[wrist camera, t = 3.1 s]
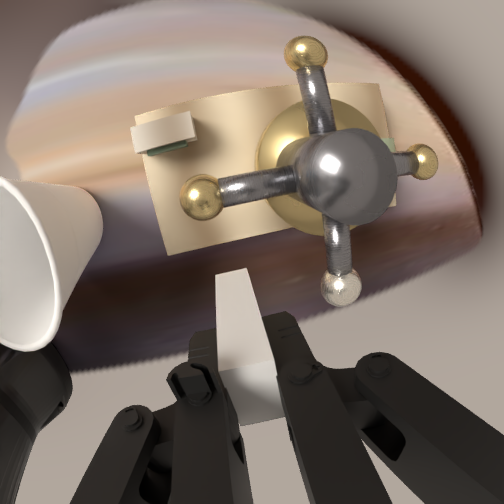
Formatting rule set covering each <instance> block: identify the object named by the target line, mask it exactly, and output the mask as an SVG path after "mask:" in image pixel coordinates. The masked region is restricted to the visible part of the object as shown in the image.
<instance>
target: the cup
mask: <svg viewBox="0 0 504 504" xmlns="http://www.w3.org/2000/svg"><path fill="white" fill-rule="evenodd" d="M102 234H103V218H102V214H101V210H100V208H99V206H98V204H97V202H96V201H95V199H94V198H93V197H92V196H91V195H90V194H89V193H88V192H87V191H85V190H84V189H82V188H79V187H75V186H67V185H58V184H49V183H40V182H31V181H21V180H10V179H7V178H5V177H2V176H0V343H1V344H3V345H5V346H7V347H9V348H12V349H14V350H19V351H24V352H26V351H36V350H38V349H41V348H43V347H45V346H46V345H47V344H48V343H49V342H50V341H52V339H53V338H54V336H55V334H56V333H57V331H58V329H59V325H60V321H61V318H62V311H63V309H64V307H65V305H66V303H67V301H68V299H69V297H70V295H71V293H72V291H73V289H74V287H75V285H76V283H77V282H78V279H79V278H80V276H81V274H82V272H83V271H84V269H85V267H86V265H87V264H88V262H89V260H90V259H91V257H92V255H93V254H94V252H95V250H96V249H97V247H98V245H99V243H100V241H101V238H102Z"/></svg>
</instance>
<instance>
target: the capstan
mask: <svg viewBox="0 0 504 504" xmlns="http://www.w3.org/2000/svg"><path fill="white" fill-rule="evenodd" d="M284 59H285V61H286V63H287V65H288V66H289V67H290V68H291V69H292V70H294V71H295V72H296V74H297V79H298V83H299V87H300V92H301V96H302V101H300V102H298V103H295V104H293V105H291V106H290V107H288V108H287V109H285V110H284V111H282V112H281V113H279V114H278V115H277V116H276V117H275V118H273V119H272V120H271V121H270V123H269V124H268V125H267V126H266V128H265V129H264V131H263V133H262V134H261V136H260V139H259V141H258V144H257V148H256V152H255V159H254V169H255V171H252V172H247V173H242V174H238V175H233V176H228V177H223V178H219V179H217V178H216V177H214V176H211V175H208V174H198V175H195V176H193V177H191V178H189V179H188V180H187V181H186V182H185V183H184V184H183V186H182V188H181V190H180V194H179V201H180V206H181V208H182V210H183V211H184V213H185V214H186V215H187V216H189V217H190V218H192V219H194V220H197V221H207V220H211V219H213V218H215V217H216V216H218V215H219V214H220V213H221V212H222V210H223V208H226V207H230V206H235V205H240V204H244V203H249V202H254V201H258V200H263V199H264V200H265V201H266V203H267V204H268V205H269V207H270V208H271V209H272V210H273V211H274V212H275V213H276V214H277V215H278V216H279V217H281V218H282V219H283V220H284V221H286V222H287V223H288V224H289V225H291V226H293V227H294V228H296V229H298V230H300V231H303V232H305V233H309V234H312V235H319V236H324V238H325V247H326V257H327V268H328V270H327V271H326V272H325V273H324V275H323V276H322V279H321V283H320V289H321V293H322V295H323V297H324V299H325V300H326V301H327V302H328V303H330V304H332V305H334V306H338V307H343V306H347V305H350V304H351V303H353V302H354V301H355V300H356V299H357V298H358V296H359V295H360V292H361V288H362V283H361V278H360V276H359V274H358V272H357V271H356V270H355V269H354V268H352V251H351V237H350V230H351V229H353V228H355V227H357V226H358V225H364V224H367V223H370V222H372V221H374V220H376V219H377V218H379V217H380V216H381V215H382V214H383V213H384V212H385V211H386V210H387V208H388V207H389V205H390V204H391V202H392V200H393V197H394V195H395V191H396V186H397V177H398V176H405V175H412V176H413V177H414V178H416V179H419V180H427V179H429V178H431V177H433V176H434V175H435V173H436V171H437V169H438V158H437V156H436V153H435V152H434V151H433V149H432V148H430V147H429V146H427V145H425V144H414V145H412V146H411V147H409V148H408V150H407V151H399V152H391V151H390V149H389V148H388V146H387V145H386V144H385V143H384V141H383V140H382V139H381V138H380V135H379V134H378V132H377V130H376V128H375V127H374V126H373V124H372V123H371V122H370V121H369V119H368V118H367V117H366V116H365V115H364V114H362V113H361V112H360V111H359V110H357V109H356V108H354V107H352V106H351V105H349V104H347V103H344V102H342V101H339V100H335V99H331V98H330V93H329V89H328V85H327V80H326V76H325V72H324V67H325V65H326V63H327V60H328V53H327V50H326V48H325V46H324V45H323V44H322V43H321V42H320V41H319V40H318V39H316V38H314V37H311V36H298V37H295V38H293V39H292V40H290V41H289V42H288V43H287V45H286V47H285V49H284Z"/></svg>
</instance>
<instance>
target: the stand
mask: <svg viewBox="0 0 504 504" xmlns="http://www.w3.org/2000/svg"><path fill="white" fill-rule="evenodd" d="M327 85H328V89H329V93H330V98H331V99H335V100H339V101H342V102H344V103H347V104H349V105H351V106H352V107H354V108H356V109H357V110H359V111H360V112H361V113H362V114H364V115H365V116H366V117H367V118H368V119H369V121H370V122H371V123H372V124H373V126H374V127H375V128H376V130H377V132H378V134H379V135H380V138H381V139H382V140H383V141H384V143H385V144H386V145H387V146H388V148H389V149H390V151H391V152H395V145H394V138H389V134H388V128H387V122H386V116H385V111H384V106H383V101H382V96H381V92H380V87H379V84H374V83H327ZM300 101H302V96H301V92H300V87H299V84H297V85H285V86H275V87H266V88H258V89H250V90H244V91H237V92H231V93H226V94H220V95H215V96H210V97H205V98H200V99H196V100H191V101H187V102H183V103H179V104H175V105H171V106H168V107H164V108H160V109H157V110H153V111H150V112H147V113H143V114H140V115H137V116H135V121H136V126H134V127H131V128H130V129H131V134H132V140H133V145H134V150H135V153H138V154H142V157H143V162H144V166H145V171H146V175H147V179H148V184H149V188H150V192H151V196H152V200H153V204H154V208H155V212H156V216H157V219H158V223H159V227H160V230H161V234H162V237H163V241H164V244H165V248H166V251H167V255H168V256H169V255H174V254H178V253H182V252H186V251H191V250H195V249H199V248H204V247H208V246H212V245H217V244H221V243H225V242H230V241H234V240H238V239H243V238H247V237H252V236H256V235H261V234H265V233H270V232H274V231H279V230H283V229H288V228H293V226H291V225H289V224H288V223H287V222H286V221H284V220H283V219H282V218H281V217H279V216H278V215H277V214H276V213H275V212H274V211H273V210H272V209H271V208H270V207H269V205H268V204H267V203H266V201H265V200H264V199H263V200H258V201H254V202H249V203H244V204H240V205H235V206H230V207H226V208H223V210H222V212H221V213H220V214H219V215H218V216H216V217H215V218H213V219H211V220H207V221H197V220H194V219H192V218H190V217H189V216H187V215H186V214H185V213H184V211H183V210H182V208H181V206H180V201H179V194H180V190H181V188H182V186H183V184H184V183H185V182H186V181H187V180H188V179H189V178H191V177H193V176H195V175H198V174H208V175H211V176H214V177H216V178H217V179H219V178H223V177H228V176H233V175H238V174H242V173H247V172H252V171H255V169H254V159H255V152H256V148H257V144H258V141H259V139H260V136H261V134H262V133H263V131H264V129H265V128H266V126H267V125H268V124H269V123H270V121H271V120H272V119H273V118H275V117H276V116H277V115H278V114H279V113H281V112H282V111H284V110H285V109H287V108H288V107H290V106H291V105H293V104H295V103H298V102H300ZM393 206H396V195H394V197H393V200H392V202H391V204H390V205H389V207H393Z"/></svg>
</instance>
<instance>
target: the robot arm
mask: <svg viewBox="0 0 504 504" xmlns="http://www.w3.org/2000/svg"><path fill="white" fill-rule="evenodd" d="M215 282H216V324H217V328H214V329H209V330H204V331H199V332H195V334H194V335H193V337H192V338H191V340H190V344H189V354H188V362H184V363H181V364H180V365H178V366H176V367H175V368H174V369H173V370H172V371H171V372H170V373H169V374H168V377H167V379H166V380H167V382H168V384H169V386H170V388H171V390H172V392H173V393H174V395H175V397H176V399H177V401H176V402H175V403H174V404H172V405H170V406H168V407H166V408H163V409H160V410H157V411H154V412H151V411H150V410H149V409H148V408H147V407H145V406H142V405H132V406H129V407H126V408H124V409H123V410H121V411H120V412H119V413H118V414H117V415H116V417H115V418H114V420H113V421H112V423H111V425H110V427H109V429H108V431H107V433H106V434H105V436H104V438H103V440H102V442H101V444H100V445H99V447H98V449H97V451H96V453H95V455H94V457H93V459H92V461H91V463H90V464H89V466H88V469H87V470H86V472H85V474H84V476H83V478H82V480H81V482H80V484H79V486H78V488H77V490H76V492H75V494H74V496H73V498H72V500H71V502H70V504H253V498H252V492H251V486H250V480H249V474H248V468H247V461H246V455H245V448H244V442H243V438H242V436H241V433H240V430H239V424H240V426H245V425H250V424H254V423H260V422H264V421H269V420H273V419H278V418H281V417H286V421H287V426H288V431H289V435H290V440H291V441H292V444H293V448H294V451H295V455H296V458H297V461H298V465H299V468H300V472H301V475H302V479H303V482H304V485H305V489H306V492H307V495H308V499H309V501H310V504H392V502H391V500H390V497H389V495H388V493H387V491H386V489H385V487H384V485H383V483H382V481H381V479H380V477H379V475H378V473H377V471H376V469H375V466H374V465H373V463H372V460H371V458H370V456H369V454H368V452H367V450H366V448H365V446H364V444H363V442H362V440H363V441H364V442H365V444H366V445H367V446H368V447H369V448H370V449H371V450H372V451H373V452H374V453H375V454H376V455H377V456H378V457H379V458H380V459H381V460H382V461H383V462H384V463H385V464H386V466H387V467H388V468H390V470H391V471H392V472H393V473H394V474H395V475H396V476H397V477H398V478H399V479H400V480H401V481H402V482H403V483H404V484H405V485H406V486H407V487H408V488H409V489H410V490H411V491H412V492H413V493H414V494H415V495H416V496H418V497H419V498H420V499H421V500H422V501H423V502H424V503H425V504H504V435H503V434H501V433H500V432H499V431H497V430H496V429H495V428H493V427H492V426H490V425H489V424H487V423H486V422H485V421H484V420H482V419H481V418H479V417H478V416H477V415H475V414H474V413H473V412H471V411H470V410H468V409H467V408H466V407H464V406H463V405H461V404H460V403H459V402H457V401H456V400H454V399H453V398H452V397H450V396H449V395H448V394H446V393H445V392H444V391H442V390H441V389H439V388H438V387H437V386H435V385H434V384H432V383H431V382H430V381H428V380H427V379H426V378H424V377H423V376H421V375H420V374H419V373H417V372H416V371H415V370H413V369H412V368H410V367H409V366H408V365H406V364H405V363H403V362H402V361H400V360H399V359H398V358H397V357H395V356H393V355H391V354H389V353H383V352H376V353H370V354H368V355H366V356H363V357H362V358H361V359H360V360H359V361H358V363H357V365H356V367H355V368H345V369H333V368H327V367H325V366H323V365H322V364H321V363H320V362H318V361H316V359H315V358H314V356H313V354H312V352H311V350H310V348H309V346H308V344H307V342H306V340H305V338H304V336H303V334H302V332H301V330H300V327H299V326H298V323H297V321H296V319H295V317H294V316H292V315H291V314H289V313H287V312H286V311H285V312H281V313H276V314H272V315H268V316H264V317H261V315H260V311H259V308H258V305H257V301H256V298H255V295H254V291H253V288H252V285H251V281H250V278H249V274H248V271H247V268H244V269H240V270H235V271H231V272H226V273H222V274H218V275H215ZM72 389H73V388H72V380H71V376H70V373H69V370H68V368H67V366H66V364H65V362H64V361H63V359H62V357H61V356H60V354H59V353H58V351H57V350H56V349H55V347H54V346H53V345H52V343H51V342H49V343H48V344H47V345H46V346H45V347H43V348H41V349H38V350H36V351H26V352H24V351H19V350H14V349H12V348H9V347H7V346H5V345H3V344H1V343H0V504H15V500H16V496H17V493H18V489H19V486H20V482H21V479H22V476H23V473H24V470H25V466H26V463H27V461H28V458H29V455H30V452H31V450H32V446H33V444H34V441H35V439H36V437H37V435H38V433H39V432H40V431H41V430H42V429H43V428H44V427H45V426H47V424H49V423H50V422H51V421H52V420H53V419H54V418H55V417H56V416H57V415H59V414H60V413H61V412H62V411H63V410H64V409H65V407H66V405H67V403H68V401H69V399H70V396H71V394H72ZM238 421H239V424H238ZM361 439H362V440H361Z"/></svg>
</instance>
